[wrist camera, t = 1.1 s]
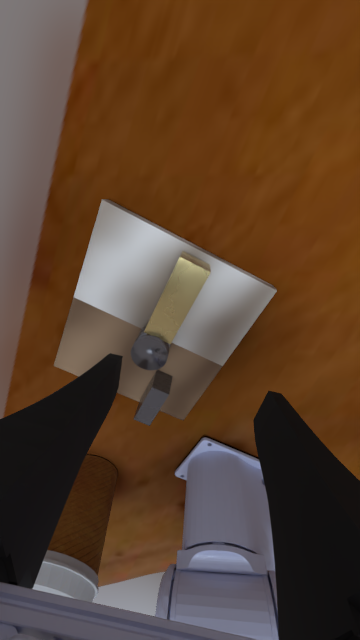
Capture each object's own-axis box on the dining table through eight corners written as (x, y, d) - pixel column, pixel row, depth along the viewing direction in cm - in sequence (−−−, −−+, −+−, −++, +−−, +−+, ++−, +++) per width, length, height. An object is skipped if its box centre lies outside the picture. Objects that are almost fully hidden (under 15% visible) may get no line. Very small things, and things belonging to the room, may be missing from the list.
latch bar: (163, 356, 21) (158, 375, 19) (134, 343, 21) (125, 361, 19) (213, 266, 17) (215, 277, 15) (178, 248, 17) (174, 256, 15)
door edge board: (273, 285, 19) (277, 290, 18) (183, 411, 26) (183, 420, 25) (108, 199, 18) (102, 199, 16) (60, 358, 24) (53, 365, 23)
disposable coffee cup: (78, 435, 30) (6, 568, 19) (143, 469, 31) (110, 608, 21) (49, 469, 34) (-24, 596, 23) (108, 498, 35) (66, 628, 25)
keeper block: (172, 376, 23) (169, 394, 20) (154, 405, 25) (149, 425, 22) (157, 369, 22) (151, 387, 20) (139, 399, 24) (133, 419, 22)
